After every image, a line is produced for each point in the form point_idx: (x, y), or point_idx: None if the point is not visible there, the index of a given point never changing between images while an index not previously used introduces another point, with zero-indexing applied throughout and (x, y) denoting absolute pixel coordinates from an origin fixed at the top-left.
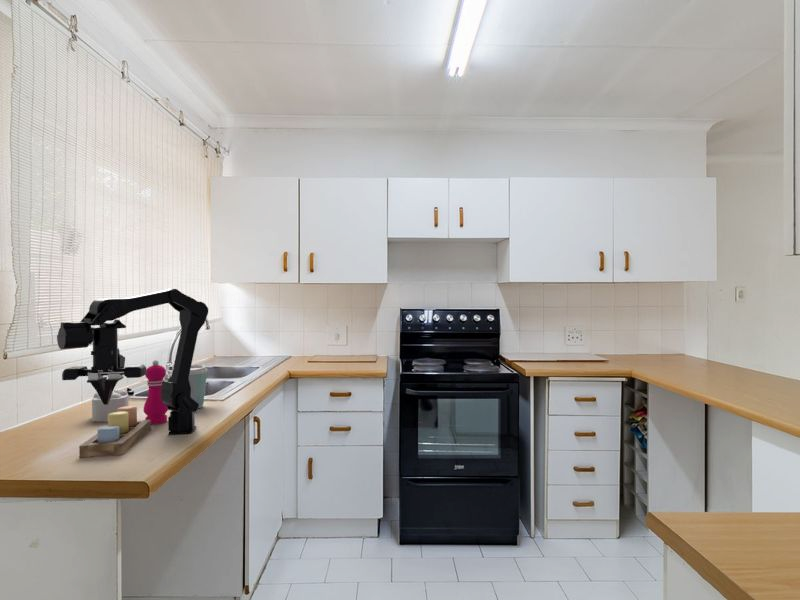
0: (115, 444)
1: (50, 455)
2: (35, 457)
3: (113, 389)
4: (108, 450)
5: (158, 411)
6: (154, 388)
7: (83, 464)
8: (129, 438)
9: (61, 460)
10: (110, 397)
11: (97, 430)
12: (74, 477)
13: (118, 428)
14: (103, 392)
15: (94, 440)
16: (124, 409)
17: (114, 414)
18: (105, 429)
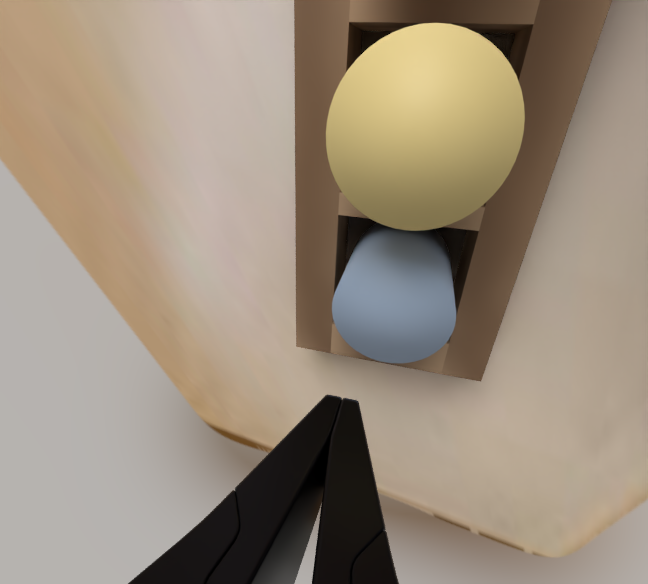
0: (449, 373)
1: (187, 251)
2: (149, 258)
3: (392, 566)
4: None
5: None
6: None
7: (353, 390)
8: (510, 288)
9: (260, 324)
10: (368, 457)
11: (337, 326)
12: None
13: (453, 325)
14: (292, 570)
15: (332, 288)
16: None
17: (387, 163)
18: (381, 338)
